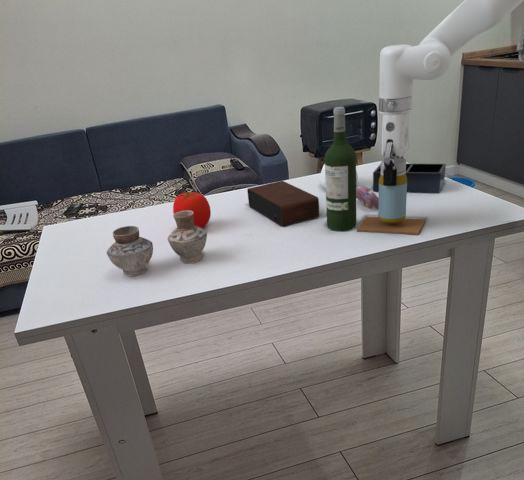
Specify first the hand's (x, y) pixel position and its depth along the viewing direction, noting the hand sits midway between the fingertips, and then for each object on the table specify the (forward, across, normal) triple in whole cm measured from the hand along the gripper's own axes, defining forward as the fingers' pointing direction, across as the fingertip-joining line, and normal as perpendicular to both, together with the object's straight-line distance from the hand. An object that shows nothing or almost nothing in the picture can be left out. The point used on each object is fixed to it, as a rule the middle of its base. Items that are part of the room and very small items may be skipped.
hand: (393, 180), depth 136 cm
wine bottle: (+12, -2, +13) cm, 18 cm away
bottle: (+10, 0, 0) cm, 10 cm away
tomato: (+12, -10, +55) cm, 57 cm away
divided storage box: (+12, +34, +2) cm, 36 cm away
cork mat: (+12, 0, 0) cm, 12 cm away
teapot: (+12, +32, +24) cm, 42 cm away
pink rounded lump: (+12, +15, +10) cm, 22 cm away
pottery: (+12, -35, +50) cm, 62 cm away
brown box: (+12, +7, +34) cm, 37 cm away
